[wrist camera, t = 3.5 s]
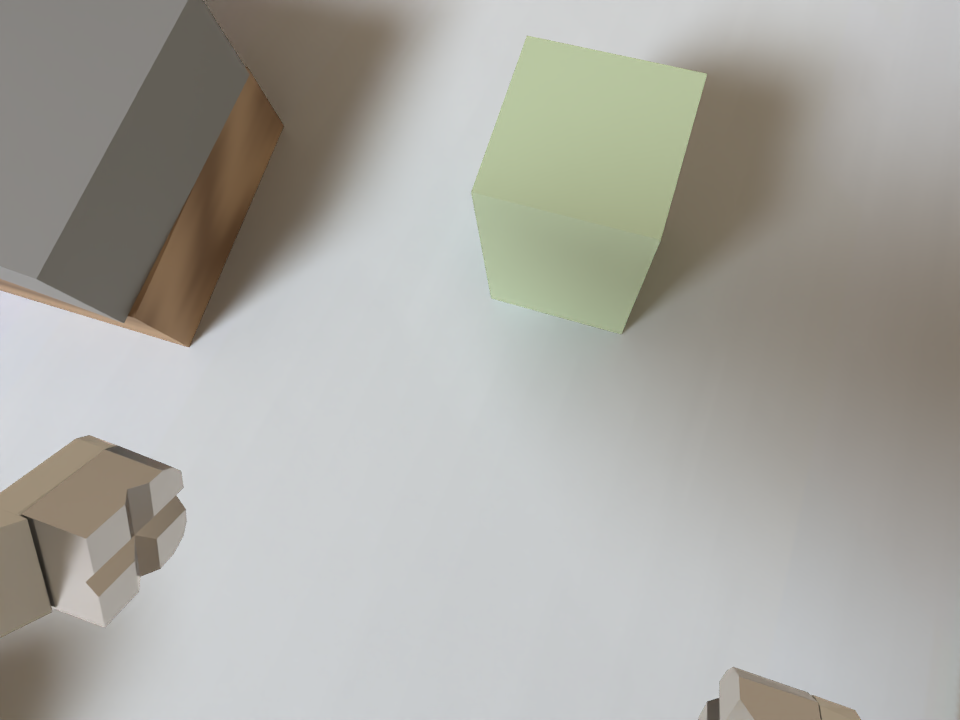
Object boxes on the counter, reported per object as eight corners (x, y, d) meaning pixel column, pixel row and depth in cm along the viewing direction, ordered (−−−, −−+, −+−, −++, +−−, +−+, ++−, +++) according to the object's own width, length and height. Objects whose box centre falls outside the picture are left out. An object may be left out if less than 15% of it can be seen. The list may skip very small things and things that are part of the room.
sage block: (621, 334, 24) (660, 240, 17) (491, 298, 25) (471, 192, 17) (655, 214, 25) (707, 73, 18) (529, 183, 26) (526, 35, 18)
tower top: (124, 323, 22) (36, 278, 18) (-114, 237, 24) (-241, 180, 20) (249, 74, 24) (194, -13, 20) (23, 11, 26) (-67, -81, 22)
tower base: (194, 350, 26) (134, 317, 22) (-21, 285, 27) (-112, 244, 24) (287, 131, 28) (247, 67, 24) (83, 82, 30) (16, 14, 26)
